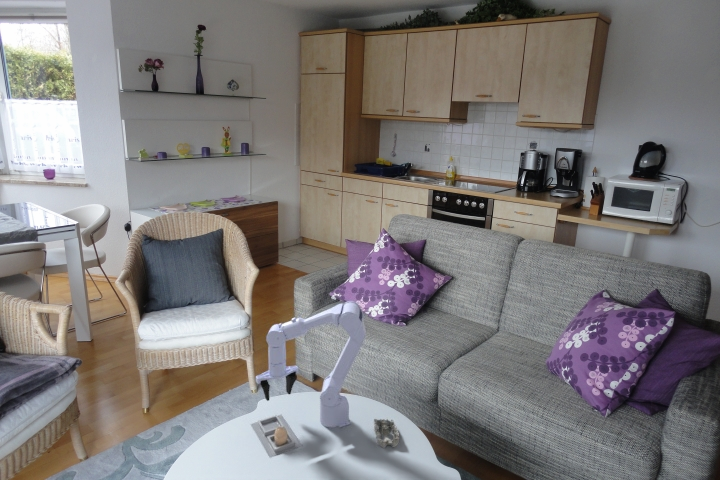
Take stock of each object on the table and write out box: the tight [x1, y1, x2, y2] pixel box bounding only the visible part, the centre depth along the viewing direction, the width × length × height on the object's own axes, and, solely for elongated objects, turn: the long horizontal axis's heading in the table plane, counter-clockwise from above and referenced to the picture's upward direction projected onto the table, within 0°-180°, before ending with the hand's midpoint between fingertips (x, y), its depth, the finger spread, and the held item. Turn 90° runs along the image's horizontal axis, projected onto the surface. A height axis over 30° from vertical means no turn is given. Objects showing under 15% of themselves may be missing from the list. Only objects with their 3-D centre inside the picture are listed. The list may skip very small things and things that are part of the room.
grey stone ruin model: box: [373, 418, 400, 449], centre depth 157 cm, size 11×8×4 cm
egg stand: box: [250, 414, 304, 458], centre depth 155 cm, size 11×18×2 cm, turn 31°
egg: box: [275, 427, 287, 447], centre depth 151 cm, size 4×4×6 cm
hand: (277, 395), depth 161 cm, fingers open, 7 cm apart
